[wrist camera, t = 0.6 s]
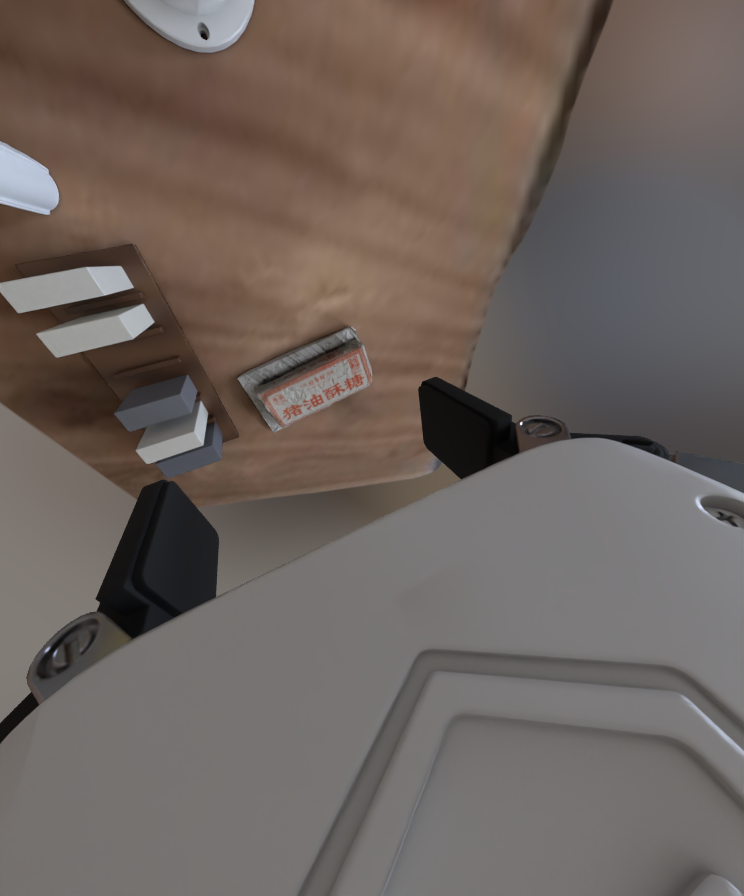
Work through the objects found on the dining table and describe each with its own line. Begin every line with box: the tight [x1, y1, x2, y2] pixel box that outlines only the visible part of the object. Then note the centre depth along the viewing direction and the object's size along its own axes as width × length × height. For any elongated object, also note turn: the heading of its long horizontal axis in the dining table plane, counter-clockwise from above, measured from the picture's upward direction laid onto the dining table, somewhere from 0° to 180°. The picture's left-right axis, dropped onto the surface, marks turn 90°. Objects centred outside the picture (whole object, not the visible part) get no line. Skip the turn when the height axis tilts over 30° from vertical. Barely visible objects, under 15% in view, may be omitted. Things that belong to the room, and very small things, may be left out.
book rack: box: [15, 244, 239, 443], centre depth 34 cm, size 24×10×2 cm, turn 10°
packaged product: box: [237, 326, 372, 432], centre depth 41 cm, size 18×5×10 cm
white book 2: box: [36, 304, 154, 358], centre depth 27 cm, size 2×6×9 cm, turn 100°
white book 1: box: [0, 266, 134, 313], centre depth 25 cm, size 2×6×9 cm, turn 100°
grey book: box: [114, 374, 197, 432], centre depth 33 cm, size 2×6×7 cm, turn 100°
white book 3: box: [135, 401, 208, 464], centre depth 34 cm, size 2×6×9 cm, turn 100°
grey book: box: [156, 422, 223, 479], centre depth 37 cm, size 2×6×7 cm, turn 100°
